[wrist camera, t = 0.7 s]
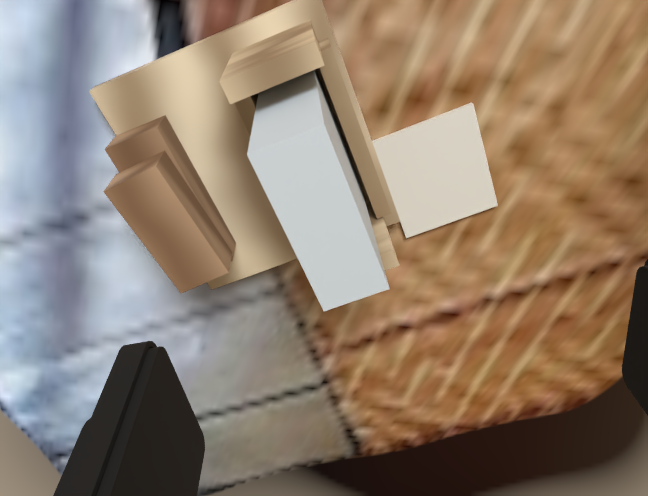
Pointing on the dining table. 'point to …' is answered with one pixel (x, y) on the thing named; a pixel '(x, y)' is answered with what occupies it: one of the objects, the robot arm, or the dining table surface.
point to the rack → (250, 121)
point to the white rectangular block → (315, 191)
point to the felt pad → (437, 170)
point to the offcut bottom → (162, 137)
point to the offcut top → (170, 222)
